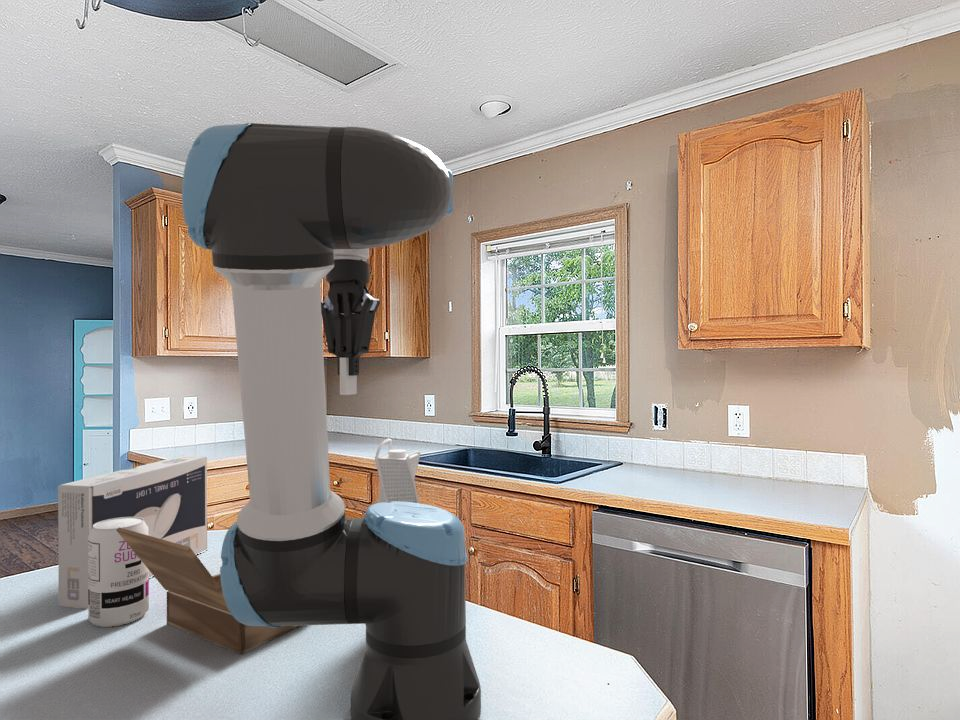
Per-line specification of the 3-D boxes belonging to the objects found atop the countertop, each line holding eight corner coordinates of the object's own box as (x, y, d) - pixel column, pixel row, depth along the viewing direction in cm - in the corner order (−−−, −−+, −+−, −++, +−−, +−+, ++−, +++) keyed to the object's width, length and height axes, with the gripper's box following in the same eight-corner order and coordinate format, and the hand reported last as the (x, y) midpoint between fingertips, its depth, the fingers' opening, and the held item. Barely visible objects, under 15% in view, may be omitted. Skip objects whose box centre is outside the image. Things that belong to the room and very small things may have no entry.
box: (245, 593, 106) (245, 565, 105) (318, 617, 96) (318, 586, 96) (166, 624, 94) (166, 591, 94) (241, 654, 84) (241, 618, 84)
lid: (167, 586, 93) (119, 527, 87) (238, 611, 84) (190, 547, 78) (165, 589, 93) (116, 529, 87) (236, 614, 84) (187, 550, 78)
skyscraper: (362, 615, 97) (362, 439, 96) (410, 605, 101) (409, 435, 100) (381, 637, 89) (380, 446, 89) (431, 624, 93) (431, 442, 93)
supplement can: (110, 606, 100) (110, 515, 100) (159, 607, 100) (159, 516, 100) (76, 628, 92) (75, 529, 92) (129, 629, 92) (128, 530, 92)
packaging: (89, 609, 100) (88, 486, 99) (58, 605, 101) (57, 485, 101) (208, 550, 129) (207, 456, 129) (182, 548, 130) (182, 455, 130)
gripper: (390, 260, 107) (390, 394, 108) (336, 266, 114) (336, 392, 114) (360, 254, 101) (361, 396, 101) (305, 261, 108) (306, 394, 108)
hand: (348, 394), depth 108 cm, fingers closed
